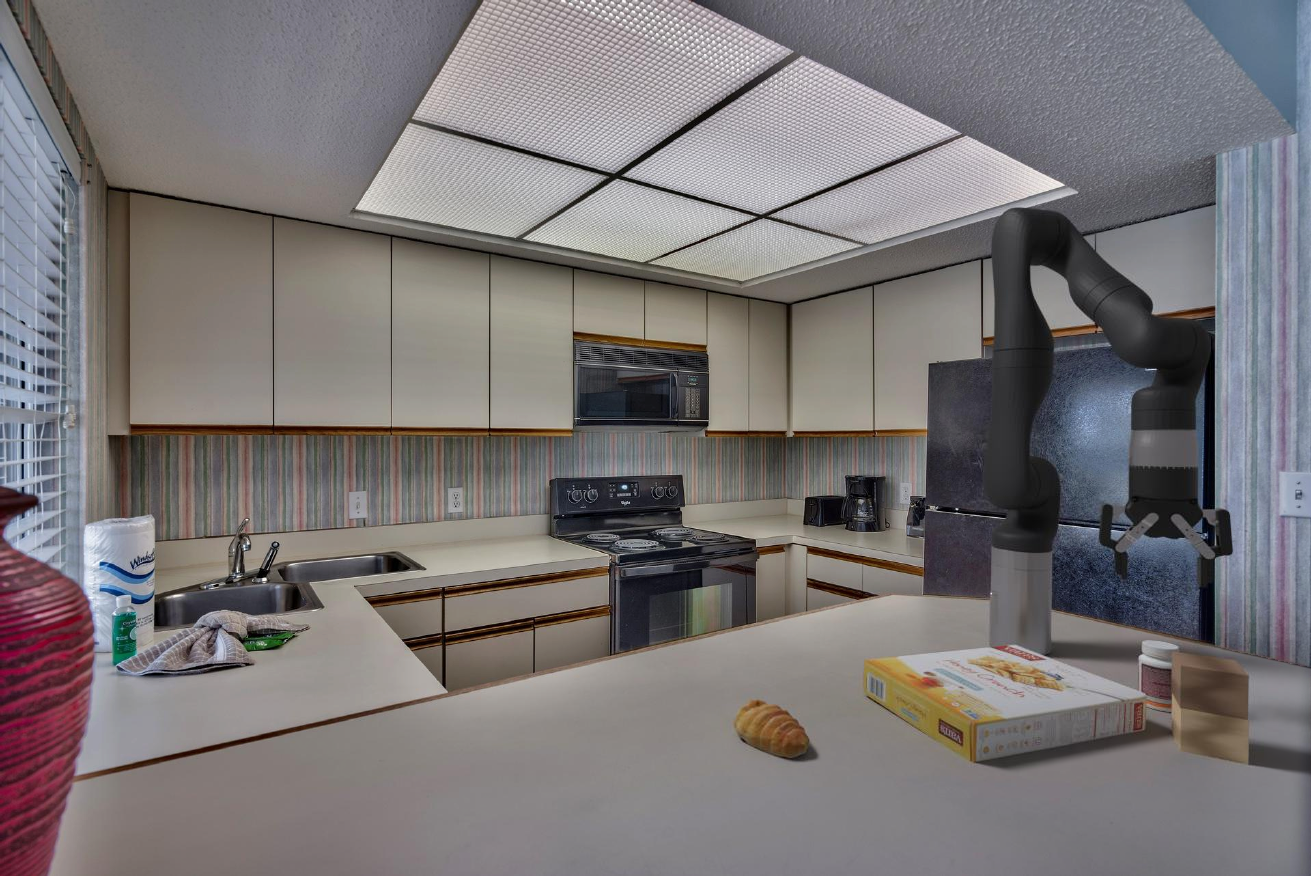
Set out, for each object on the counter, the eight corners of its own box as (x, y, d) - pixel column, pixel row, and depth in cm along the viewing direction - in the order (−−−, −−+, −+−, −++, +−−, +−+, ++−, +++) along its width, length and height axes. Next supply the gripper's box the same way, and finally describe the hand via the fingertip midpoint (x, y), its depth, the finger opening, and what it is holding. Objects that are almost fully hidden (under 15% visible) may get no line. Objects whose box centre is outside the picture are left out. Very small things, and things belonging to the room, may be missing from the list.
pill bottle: (1190, 714, 86) (1191, 651, 86) (1149, 711, 87) (1150, 648, 87) (1169, 700, 91) (1170, 640, 91) (1131, 697, 92) (1131, 637, 92)
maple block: (1180, 751, 76) (1180, 708, 76) (1171, 731, 81) (1171, 691, 81) (1248, 765, 73) (1249, 720, 73) (1234, 743, 78) (1235, 702, 78)
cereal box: (860, 657, 91) (1013, 638, 101) (859, 697, 91) (1012, 674, 101) (976, 720, 72) (1150, 690, 82) (974, 770, 72) (1149, 734, 82)
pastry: (824, 752, 75) (824, 719, 75) (781, 768, 71) (781, 734, 71) (767, 722, 83) (768, 692, 83) (726, 735, 79) (726, 704, 79)
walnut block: (1180, 708, 76) (1180, 665, 76) (1171, 691, 81) (1172, 651, 81) (1248, 720, 73) (1248, 675, 73) (1234, 701, 78) (1235, 660, 78)
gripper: (1101, 463, 89) (1101, 581, 89) (1238, 465, 82) (1238, 594, 82) (1097, 461, 96) (1096, 572, 96) (1223, 464, 89) (1223, 583, 89)
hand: (1162, 582), depth 89 cm, fingers open, 8 cm apart
